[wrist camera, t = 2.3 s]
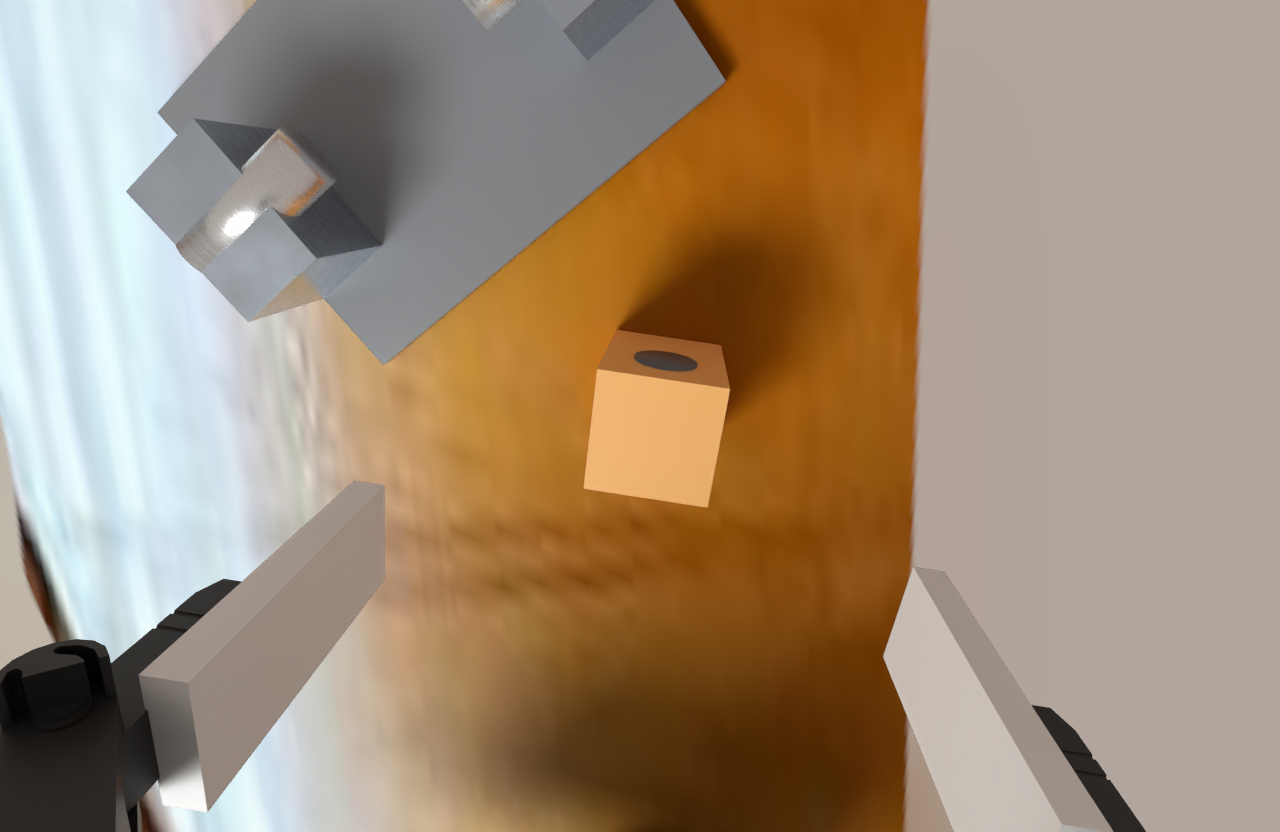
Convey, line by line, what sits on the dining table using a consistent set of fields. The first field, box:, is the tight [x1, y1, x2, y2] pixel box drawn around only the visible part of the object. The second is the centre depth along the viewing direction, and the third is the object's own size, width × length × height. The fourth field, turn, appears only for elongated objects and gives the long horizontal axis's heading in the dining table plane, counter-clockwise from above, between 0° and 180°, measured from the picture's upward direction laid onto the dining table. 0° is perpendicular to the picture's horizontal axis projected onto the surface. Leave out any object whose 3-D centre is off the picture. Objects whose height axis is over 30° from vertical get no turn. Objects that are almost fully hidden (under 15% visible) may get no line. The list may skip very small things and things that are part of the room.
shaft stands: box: [126, 0, 655, 322], centre depth 24 cm, size 6×20×6 cm, turn 127°
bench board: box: [158, 0, 726, 365], centre depth 27 cm, size 14×20×1 cm
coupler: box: [584, 330, 730, 507], centre depth 28 cm, size 5×5×7 cm
